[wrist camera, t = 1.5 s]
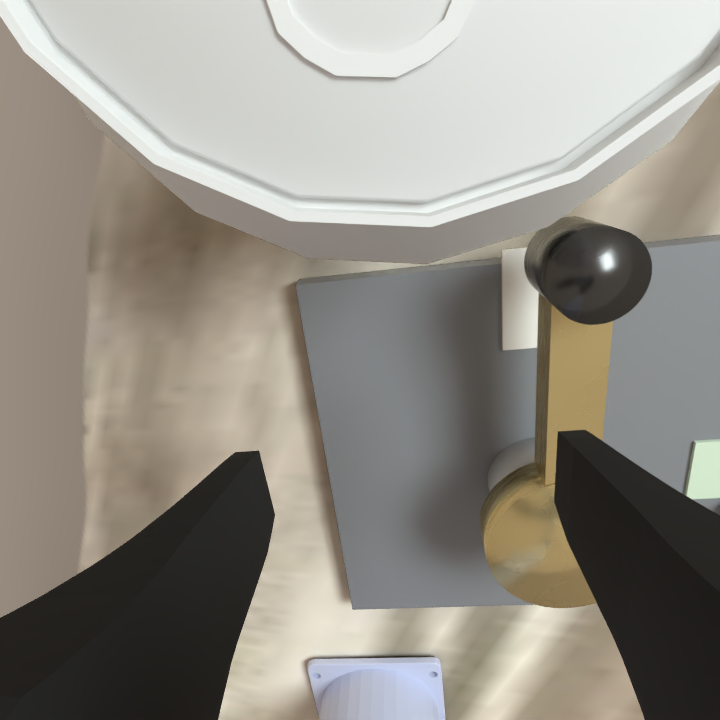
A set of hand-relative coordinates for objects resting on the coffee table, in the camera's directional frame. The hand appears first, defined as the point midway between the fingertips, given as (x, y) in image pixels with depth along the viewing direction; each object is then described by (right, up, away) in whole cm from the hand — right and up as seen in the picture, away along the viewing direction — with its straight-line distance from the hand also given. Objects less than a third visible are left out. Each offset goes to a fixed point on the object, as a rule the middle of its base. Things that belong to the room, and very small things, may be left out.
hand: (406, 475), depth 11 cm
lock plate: (+8, -1, +10) cm, 13 cm away
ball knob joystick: (+6, +1, +6) cm, 9 cm away
